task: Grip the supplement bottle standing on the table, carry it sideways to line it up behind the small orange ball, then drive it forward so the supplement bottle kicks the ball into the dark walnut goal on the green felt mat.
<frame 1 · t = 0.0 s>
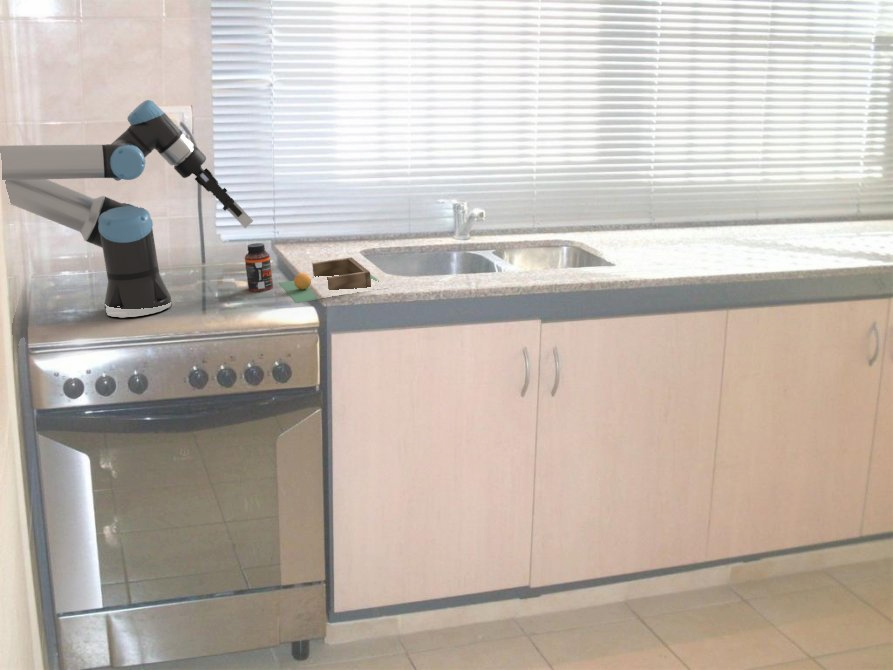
hand: (244, 219, 277), 15 cm above the counter, tool tilted 35°, fingers open, 13 cm apart
goal: (340, 283, 269), resting on pitch mat
pitch mat: (332, 287, 268), on the counter
ball: (303, 289, 267), resting on pitch mat
supplement bottle: (261, 291, 271), on the counter
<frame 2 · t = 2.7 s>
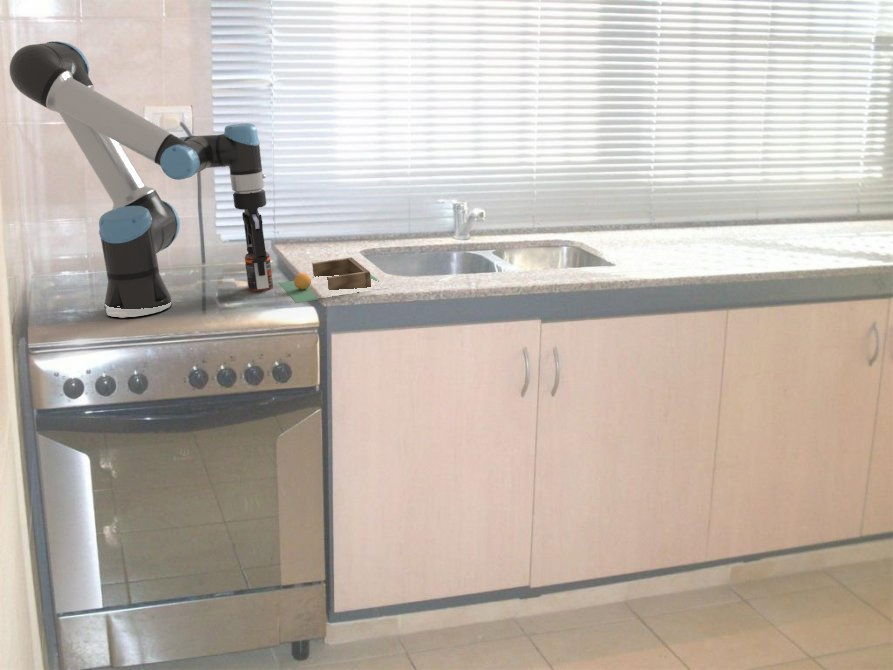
hand: (260, 285, 270), 1 cm above the counter, tool pointing down, fingers closed on supplement bottle, 6 cm apart
supplement bottle: (261, 291, 271), on the counter, touching gripper
everything else where it was.
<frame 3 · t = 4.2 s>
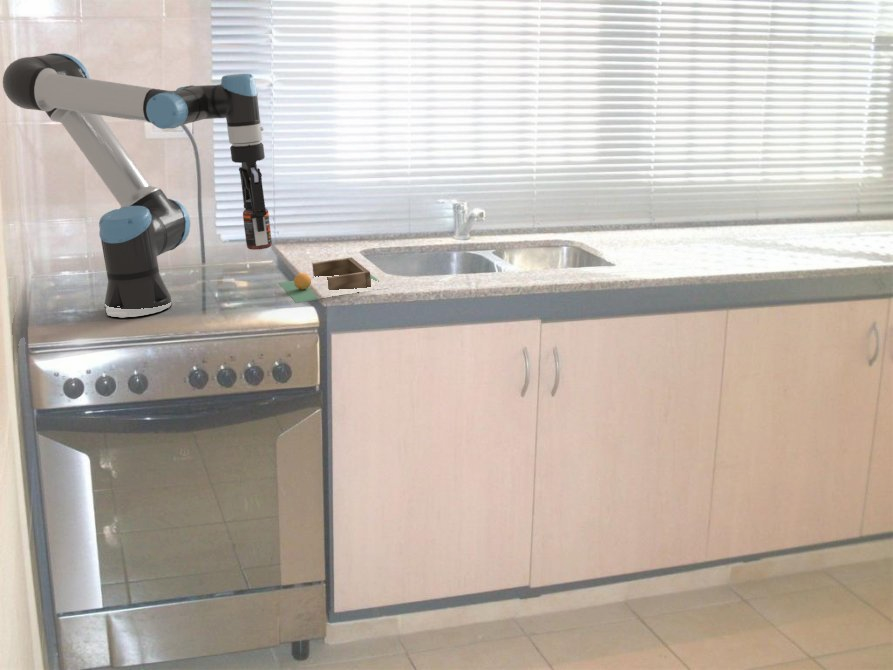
hand: (258, 242, 262), 13 cm above the counter, tool pointing down, fingers closed on supplement bottle, 6 cm apart
supplement bottle: (259, 248, 262), point 11 cm above the counter, touching gripper
everything else where it was.
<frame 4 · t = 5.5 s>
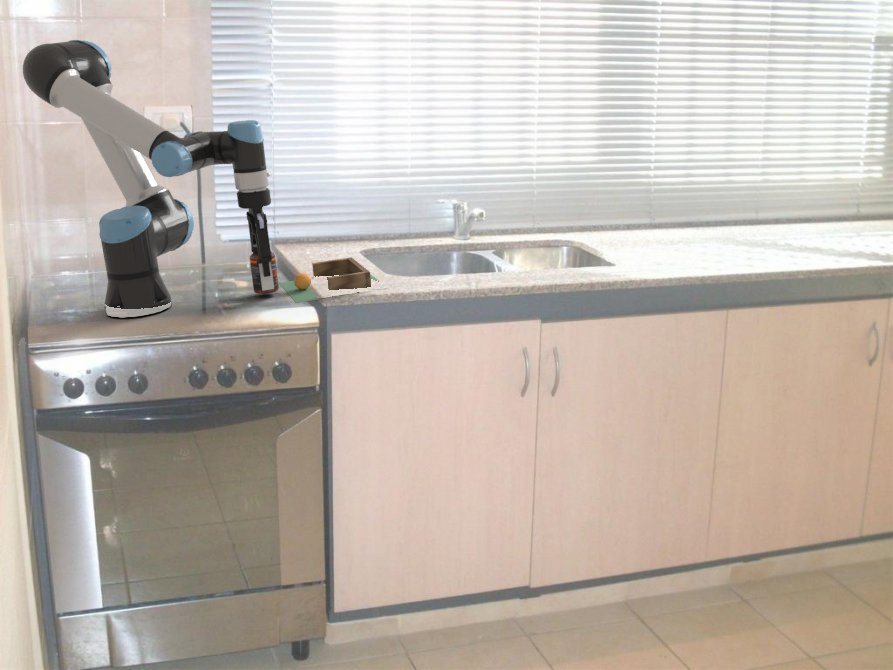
hand: (265, 286, 263), 3 cm above the counter, tool pointing down, fingers closed on supplement bottle, 6 cm apart
supplement bottle: (266, 292, 264), point 1 cm above the counter, touching gripper
everything else where it was.
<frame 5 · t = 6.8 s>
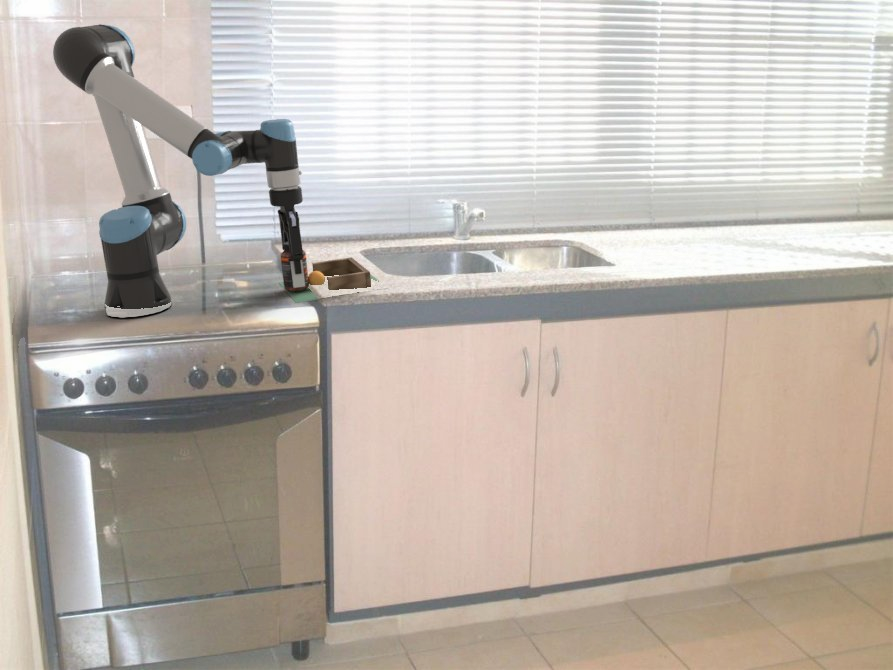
hand: (296, 283, 265), 2 cm above the counter, tool pointing down, fingers closed on supplement bottle, 6 cm apart
ball: (308, 280, 266), point 3 cm above the counter, tilted 91°, touching supplement bottle, pitch mat
supplement bottle: (297, 289, 266), point 1 cm above the counter, touching ball, gripper
when the fingers open (2 cm above the counter, at t = 8.3 s): supplement bottle stays where it is, resting on pitch mat.
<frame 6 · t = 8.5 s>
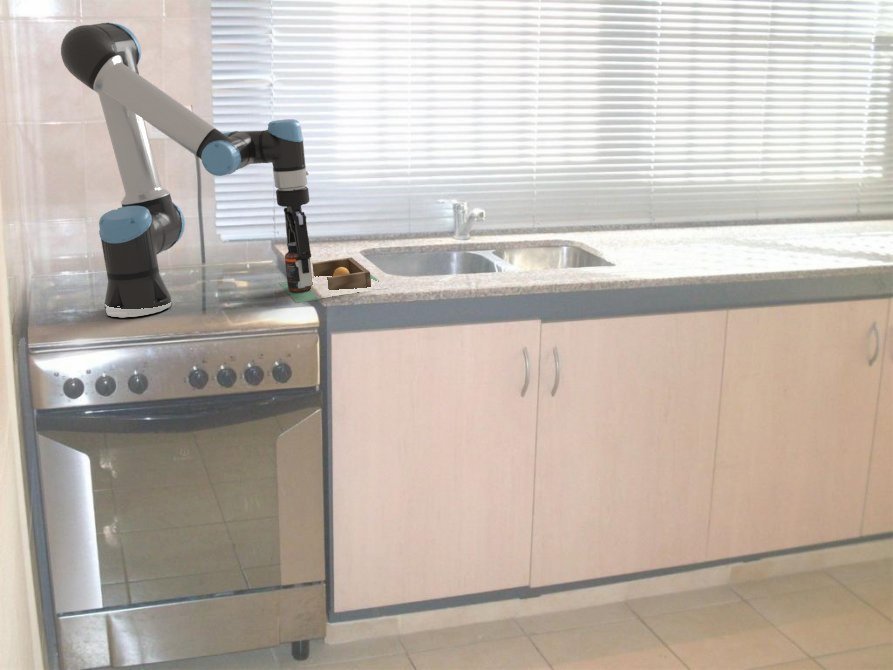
hand: (302, 281, 266), 2 cm above the counter, tool pointing down, fingers open, 8 cm apart
ball: (349, 274, 270), point 2 cm above the counter, tilted 89°, touching pitch mat
supplement bottle: (301, 290, 267), resting on pitch mat
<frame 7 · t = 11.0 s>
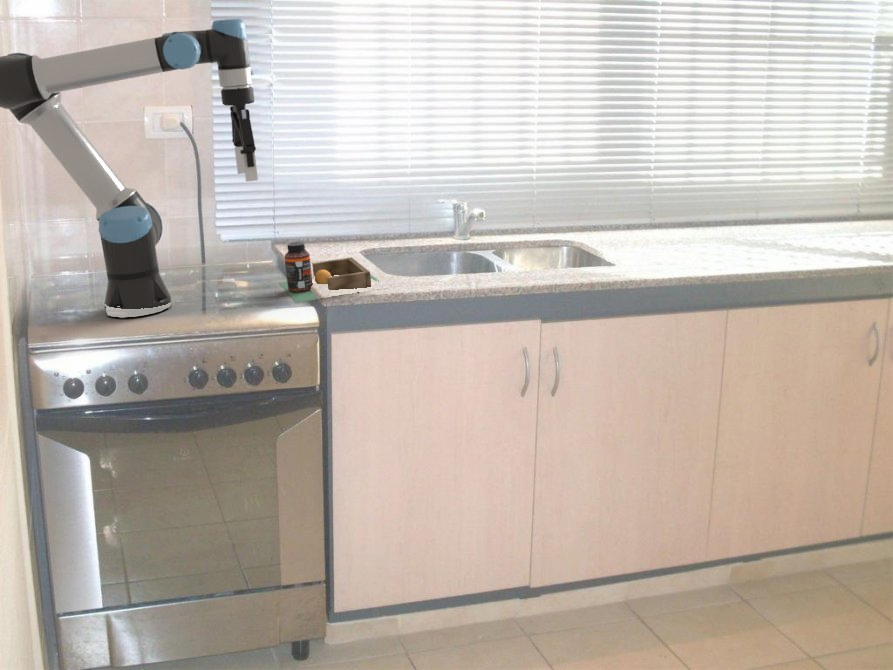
hand: (247, 177, 269), 27 cm above the counter, tool pointing down, fingers open, 13 cm apart
ball: (317, 272, 267), point 4 cm above the counter, tilted 140°, touching pitch mat
everything else where it was.
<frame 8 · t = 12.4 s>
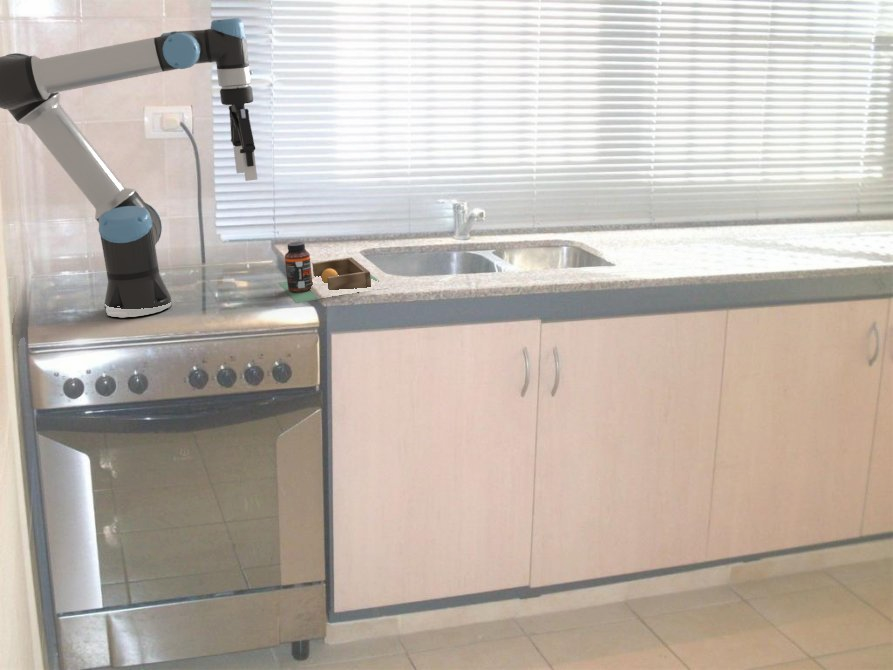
hand: (246, 176, 269), 27 cm above the counter, tool pointing down, fingers open, 13 cm apart
ball: (329, 268, 268), point 4 cm above the counter, tilted 164°, touching pitch mat
everything else where it was.
at the end: ball inside the target area (2.3 cm from its centre), point 4.3 cm above the counter; supplement bottle tilted 0°; the gripper is holding nothing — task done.
